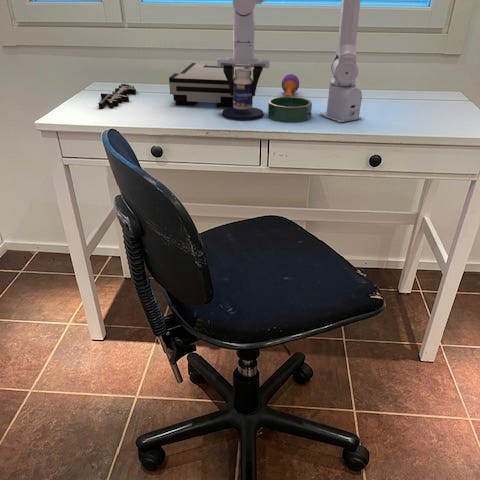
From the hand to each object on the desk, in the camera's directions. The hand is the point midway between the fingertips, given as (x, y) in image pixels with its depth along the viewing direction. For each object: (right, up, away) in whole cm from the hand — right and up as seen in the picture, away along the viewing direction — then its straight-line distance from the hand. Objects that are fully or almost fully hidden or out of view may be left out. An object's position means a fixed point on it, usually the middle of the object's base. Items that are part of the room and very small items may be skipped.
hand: (243, 95), depth 140 cm
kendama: (+15, +8, +20) cm, 26 cm away
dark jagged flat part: (-41, +7, +18) cm, 45 cm away
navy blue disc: (0, -4, +3) cm, 6 cm away
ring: (+14, -5, +2) cm, 15 cm away
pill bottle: (0, -3, +2) cm, 4 cm away
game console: (-10, +9, +22) cm, 25 cm away
